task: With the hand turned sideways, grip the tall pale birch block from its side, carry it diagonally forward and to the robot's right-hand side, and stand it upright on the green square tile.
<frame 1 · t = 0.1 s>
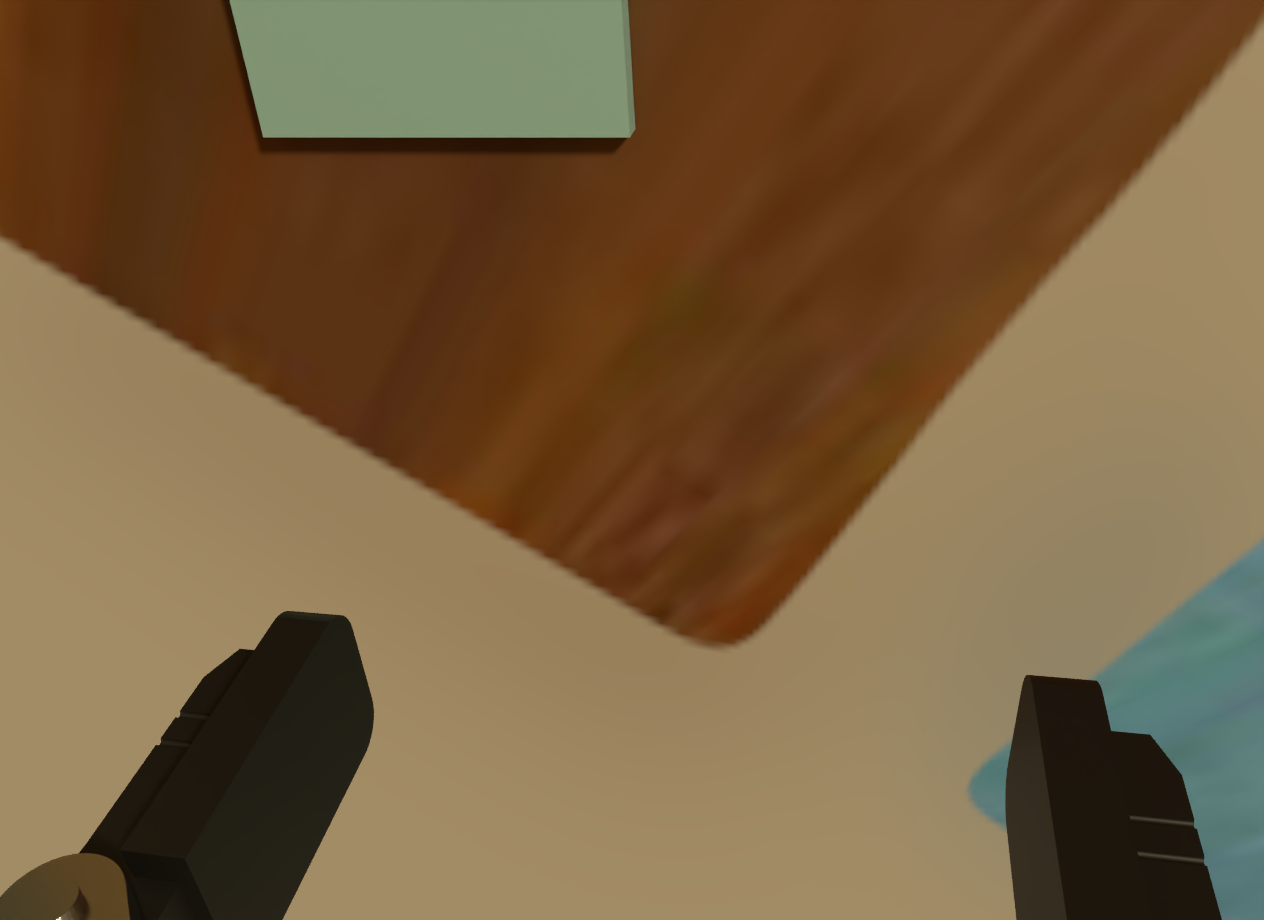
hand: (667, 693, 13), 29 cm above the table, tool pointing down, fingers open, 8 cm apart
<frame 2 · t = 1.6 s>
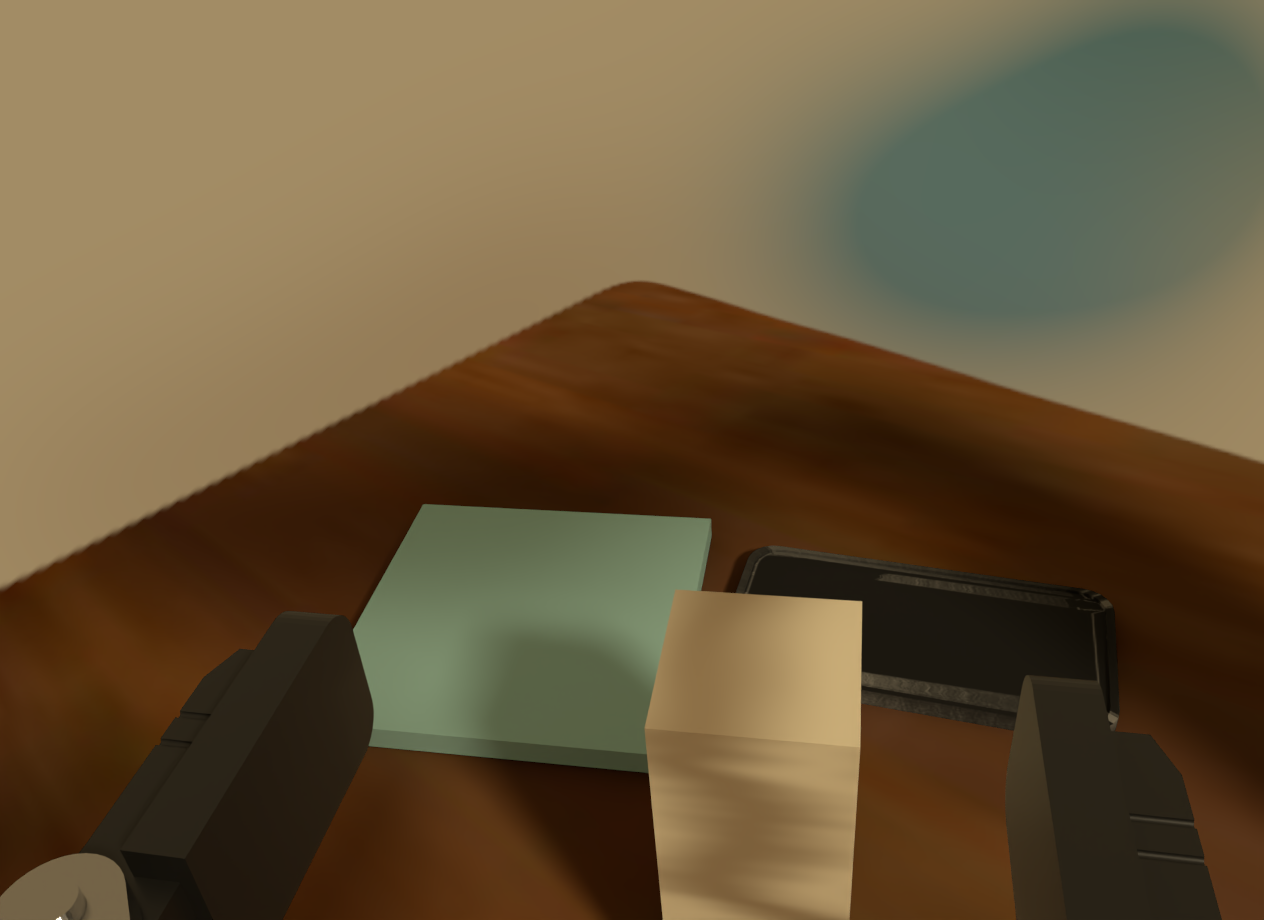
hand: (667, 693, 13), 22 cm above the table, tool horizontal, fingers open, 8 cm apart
green square tile: (528, 628, 47), on the table
phone: (913, 649, 45), on the table
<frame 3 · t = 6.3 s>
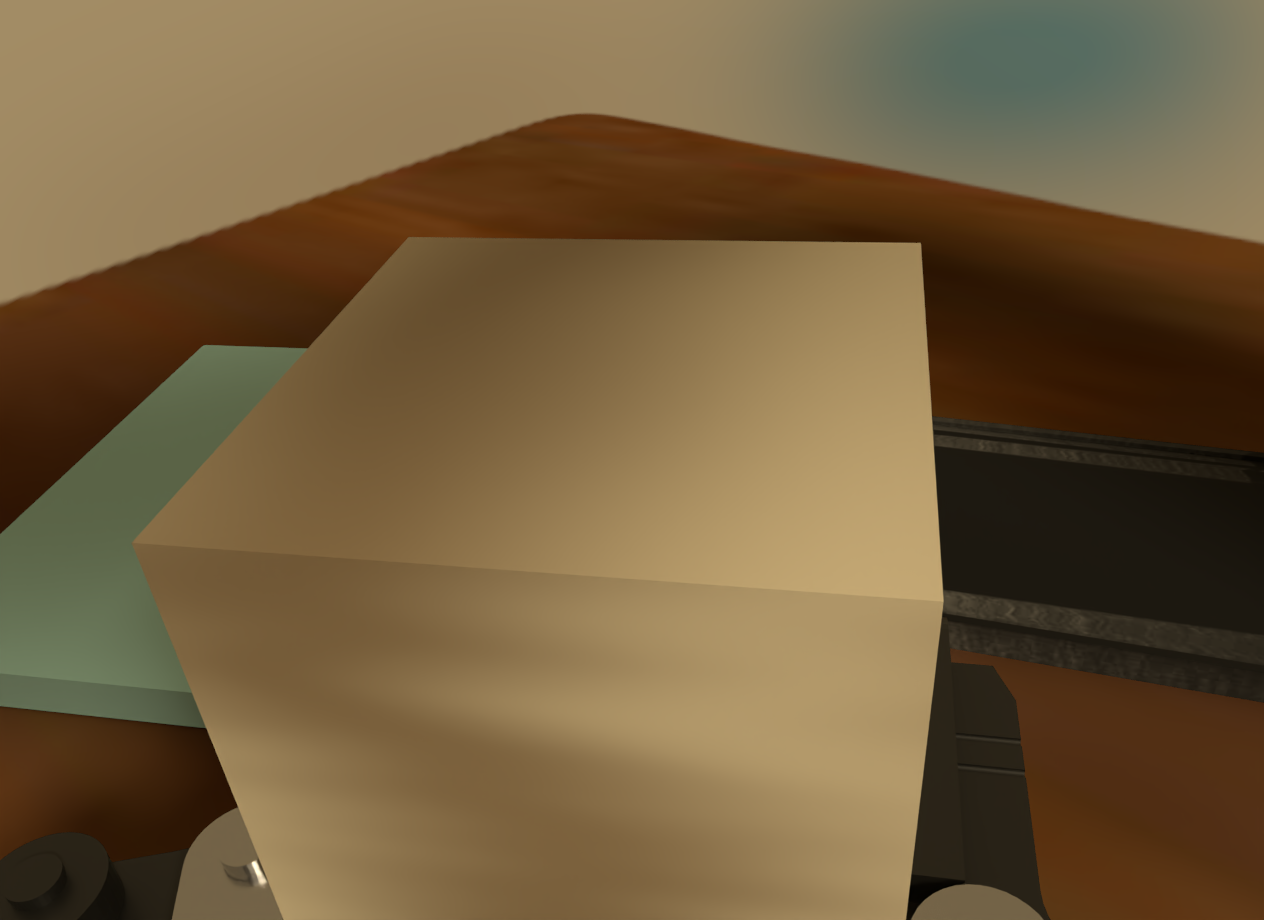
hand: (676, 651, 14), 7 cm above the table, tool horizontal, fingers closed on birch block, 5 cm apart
green square tile: (324, 518, 28), on the table
phone: (977, 554, 26), on the table
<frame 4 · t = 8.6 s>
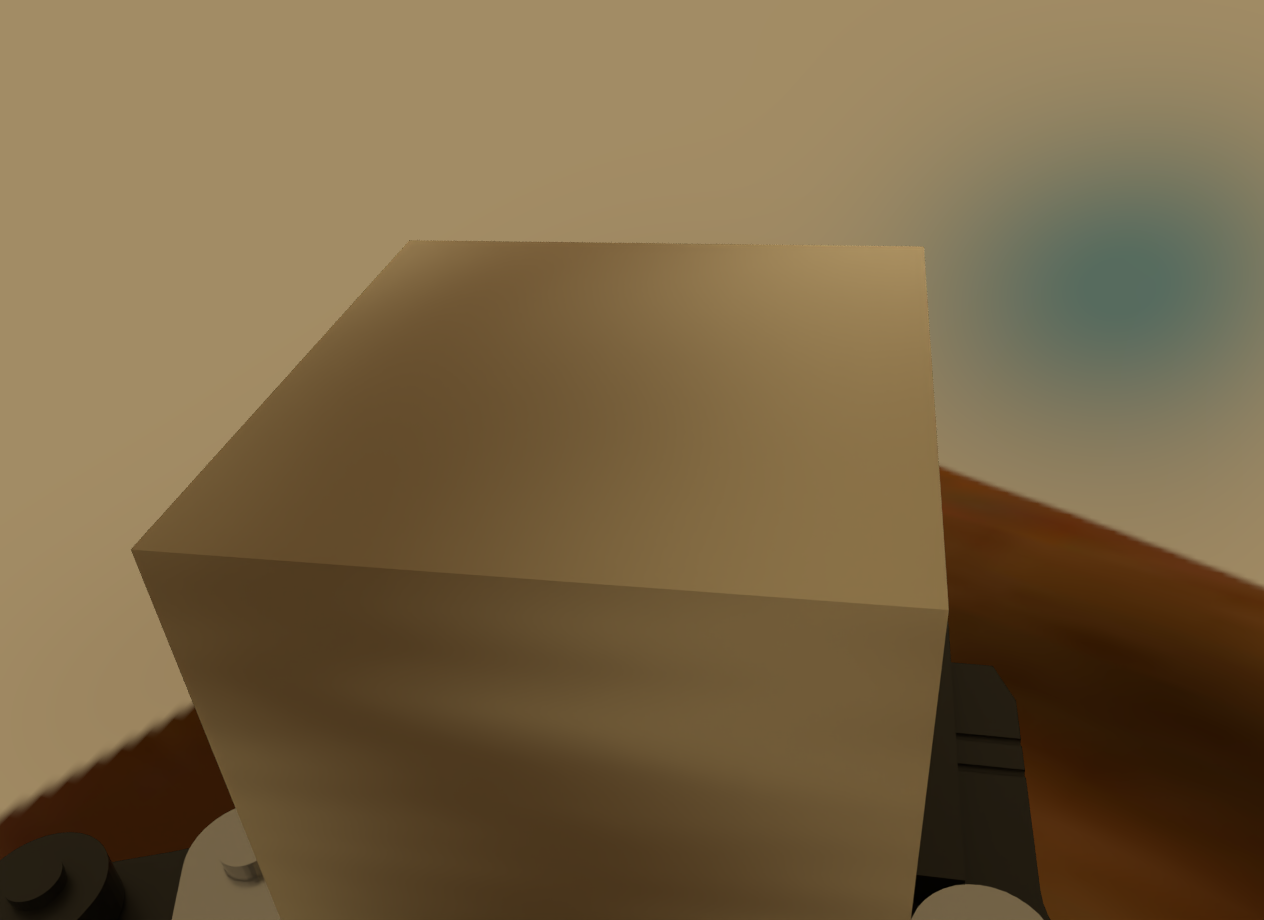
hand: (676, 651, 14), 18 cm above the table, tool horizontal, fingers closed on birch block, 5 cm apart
when the fingers open (8 cm above the table, at t = 11.2 s): birch block stays where it is, resting on green square tile.
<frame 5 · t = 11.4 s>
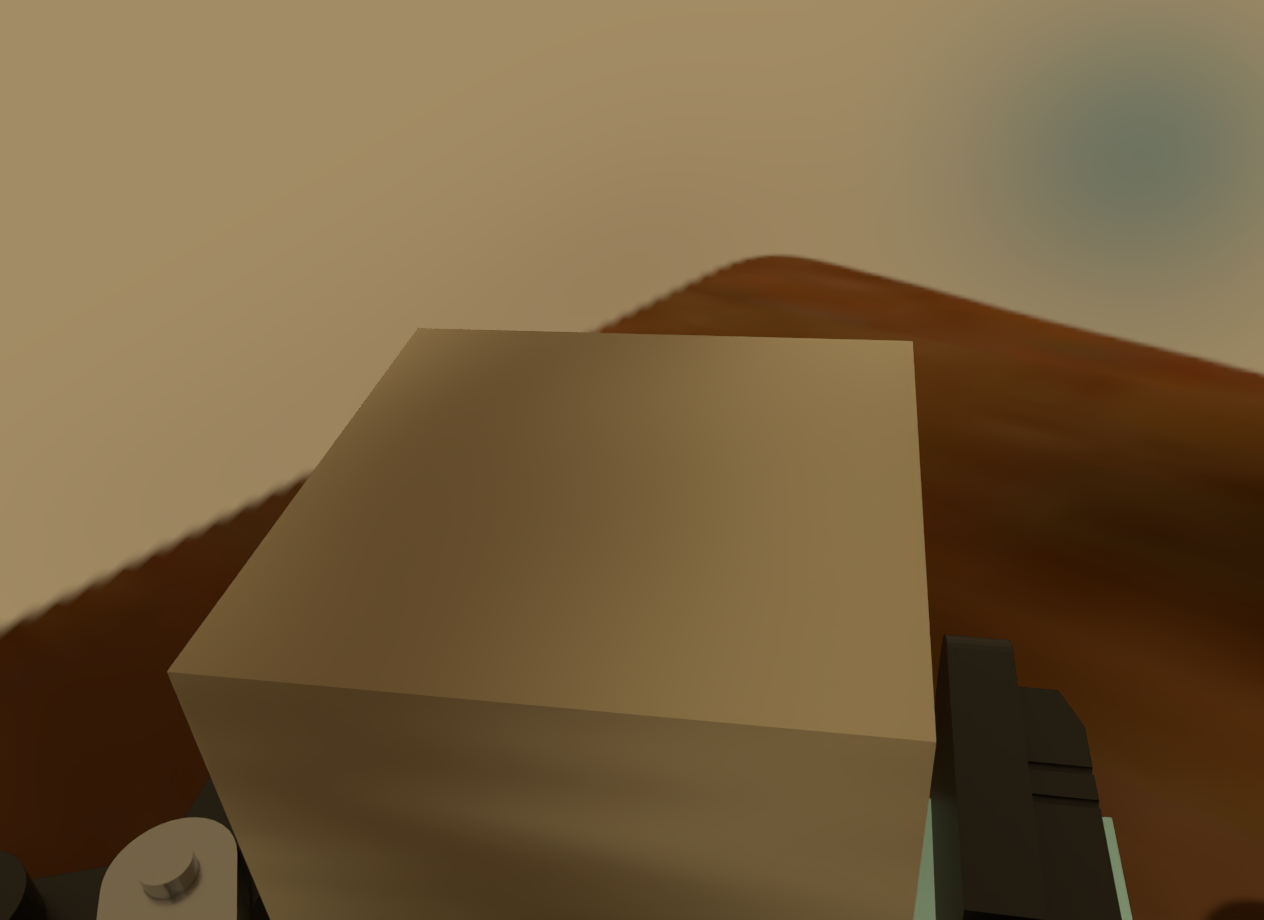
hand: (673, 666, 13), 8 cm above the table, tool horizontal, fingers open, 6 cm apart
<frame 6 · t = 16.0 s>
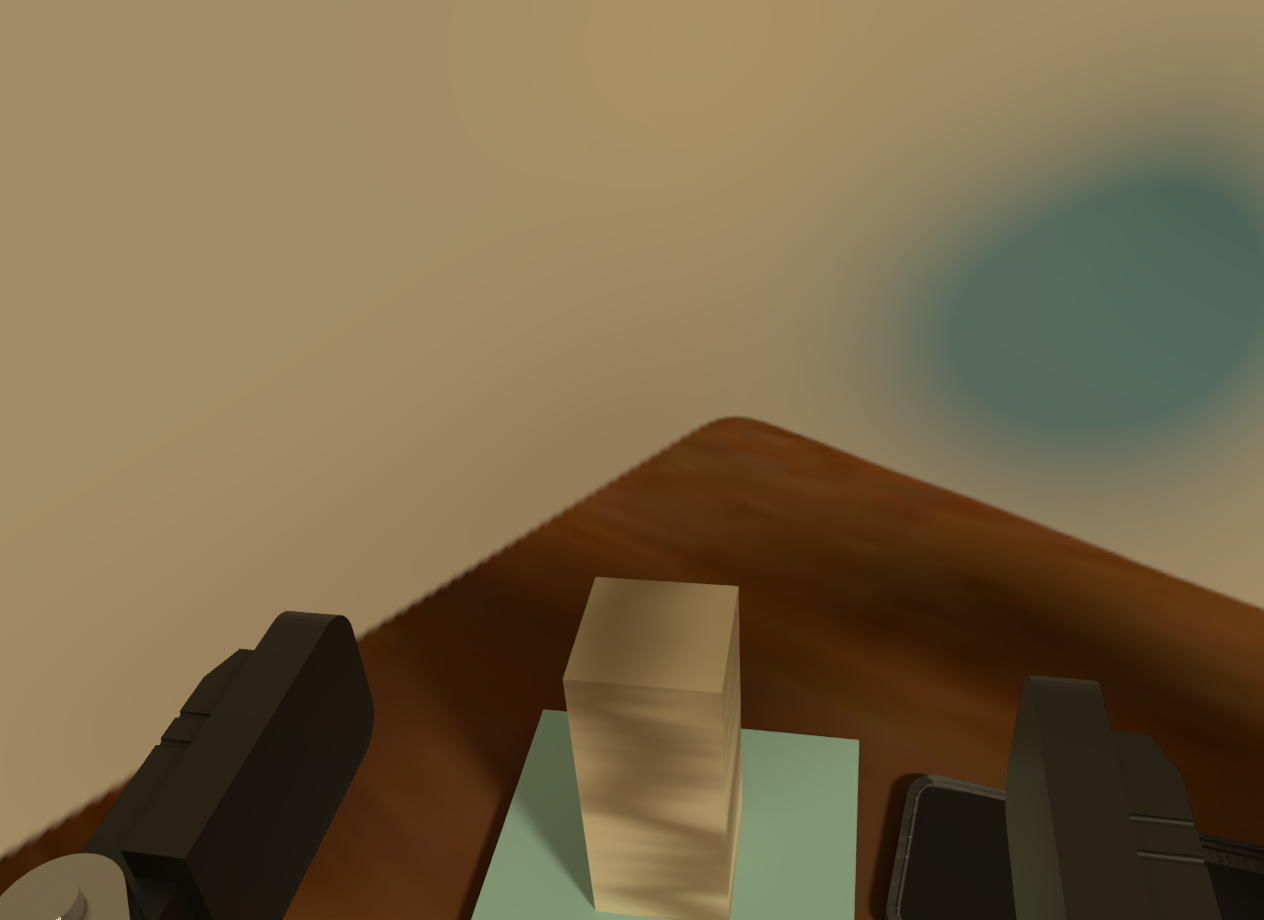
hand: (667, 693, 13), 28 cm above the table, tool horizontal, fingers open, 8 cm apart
birch block: (671, 861, 43), point 1 cm above the table, touching green square tile
green square tile: (672, 875, 43), on the table
phone: (1098, 914, 41), on the table
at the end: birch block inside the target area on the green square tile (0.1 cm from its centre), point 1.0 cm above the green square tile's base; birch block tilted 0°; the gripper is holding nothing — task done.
